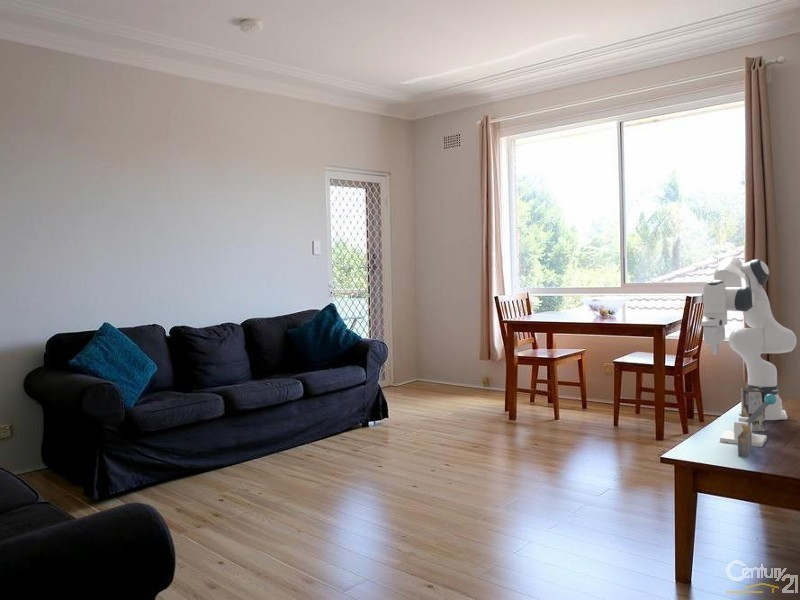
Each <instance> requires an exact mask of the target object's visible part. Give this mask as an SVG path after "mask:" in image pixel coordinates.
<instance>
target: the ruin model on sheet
mask: <svg viewBox="0 0 800 600" xmlns="http://www.w3.org/2000/svg"><path fill="white" fill-rule="evenodd" d="M741 426H742V428H743V430H742V432H741V433H740V434H739V436H738V444H737V454H738V455H737V457H740V458H747V457H748V456H749V454H750V453H751V451H752V450H753V448H752V447H753V446H752V434H753V431H752V430H750V429H751V428H750V427H748V426H746V425H744V424H743V425H741Z"/></svg>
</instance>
